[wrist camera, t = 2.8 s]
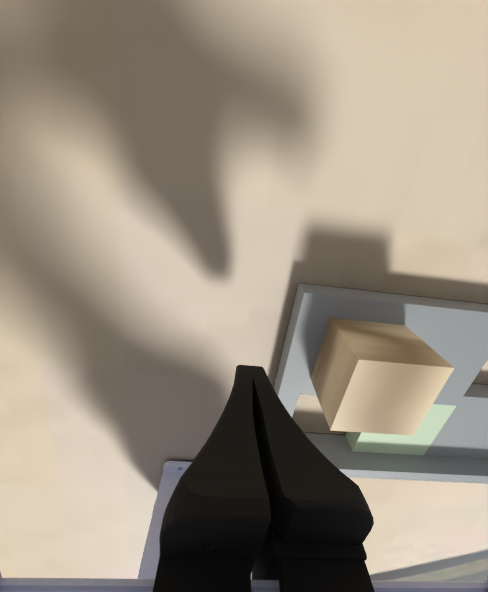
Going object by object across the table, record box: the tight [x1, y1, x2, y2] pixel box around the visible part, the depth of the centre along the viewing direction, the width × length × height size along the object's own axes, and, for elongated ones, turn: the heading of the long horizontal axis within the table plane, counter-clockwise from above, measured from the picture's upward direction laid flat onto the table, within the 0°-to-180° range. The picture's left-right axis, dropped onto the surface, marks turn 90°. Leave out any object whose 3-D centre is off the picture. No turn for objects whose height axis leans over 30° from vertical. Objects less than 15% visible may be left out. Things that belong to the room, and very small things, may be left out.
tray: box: [274, 283, 488, 484], centre depth 19 cm, size 24×15×3 cm, turn 82°
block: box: [311, 318, 454, 436], centre depth 15 cm, size 5×5×4 cm
